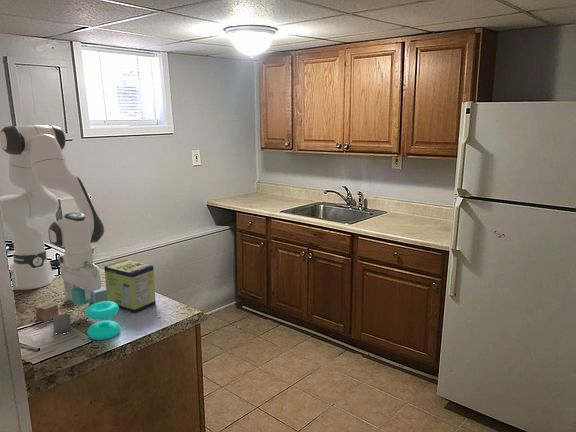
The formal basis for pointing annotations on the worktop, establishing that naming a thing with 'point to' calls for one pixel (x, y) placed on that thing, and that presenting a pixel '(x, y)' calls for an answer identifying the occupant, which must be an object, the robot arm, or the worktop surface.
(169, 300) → the worktop surface
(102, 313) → the donuts
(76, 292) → the teal block
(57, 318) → the charcoal cylinder
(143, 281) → the protein box
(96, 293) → the slate blue block
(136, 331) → the worktop surface
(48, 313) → the walnut block
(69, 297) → the medicine box
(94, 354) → the worktop surface
